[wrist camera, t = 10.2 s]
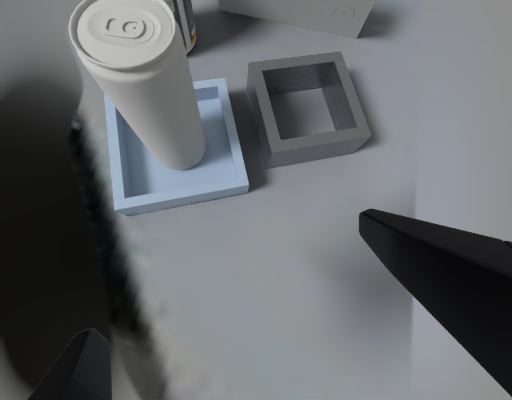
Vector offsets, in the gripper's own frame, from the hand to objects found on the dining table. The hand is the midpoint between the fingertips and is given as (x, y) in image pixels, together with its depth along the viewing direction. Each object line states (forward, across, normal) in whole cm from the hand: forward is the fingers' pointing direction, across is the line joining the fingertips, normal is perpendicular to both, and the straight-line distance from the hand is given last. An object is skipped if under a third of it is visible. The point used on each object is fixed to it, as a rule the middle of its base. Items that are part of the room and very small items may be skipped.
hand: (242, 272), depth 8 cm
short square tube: (+17, -11, +2) cm, 21 cm away
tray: (+18, +1, +1) cm, 18 cm away
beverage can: (+18, +1, +1) cm, 18 cm away
